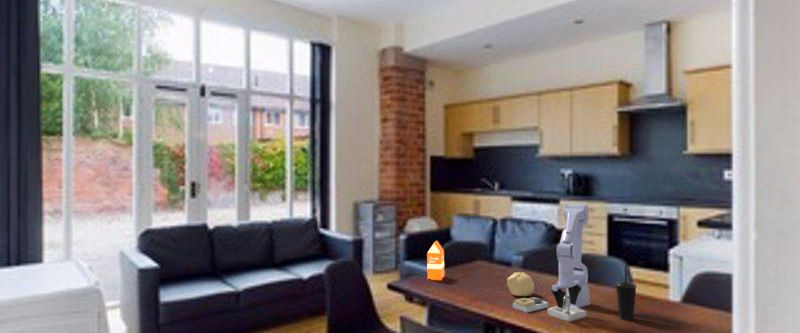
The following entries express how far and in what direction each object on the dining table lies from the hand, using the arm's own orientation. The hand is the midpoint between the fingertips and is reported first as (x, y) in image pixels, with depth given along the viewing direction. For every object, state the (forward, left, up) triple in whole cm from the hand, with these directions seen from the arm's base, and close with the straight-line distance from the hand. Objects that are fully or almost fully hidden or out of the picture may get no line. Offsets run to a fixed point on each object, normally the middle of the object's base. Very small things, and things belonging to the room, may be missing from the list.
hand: (566, 305), depth 191 cm
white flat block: (+4, -16, -4) cm, 17 cm away
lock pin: (0, 0, -4) cm, 4 cm away
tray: (0, 0, -4) cm, 4 cm away
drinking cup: (-17, +15, -4) cm, 23 cm away
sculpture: (-6, -32, -4) cm, 33 cm away
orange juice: (+9, -81, -4) cm, 82 cm away
